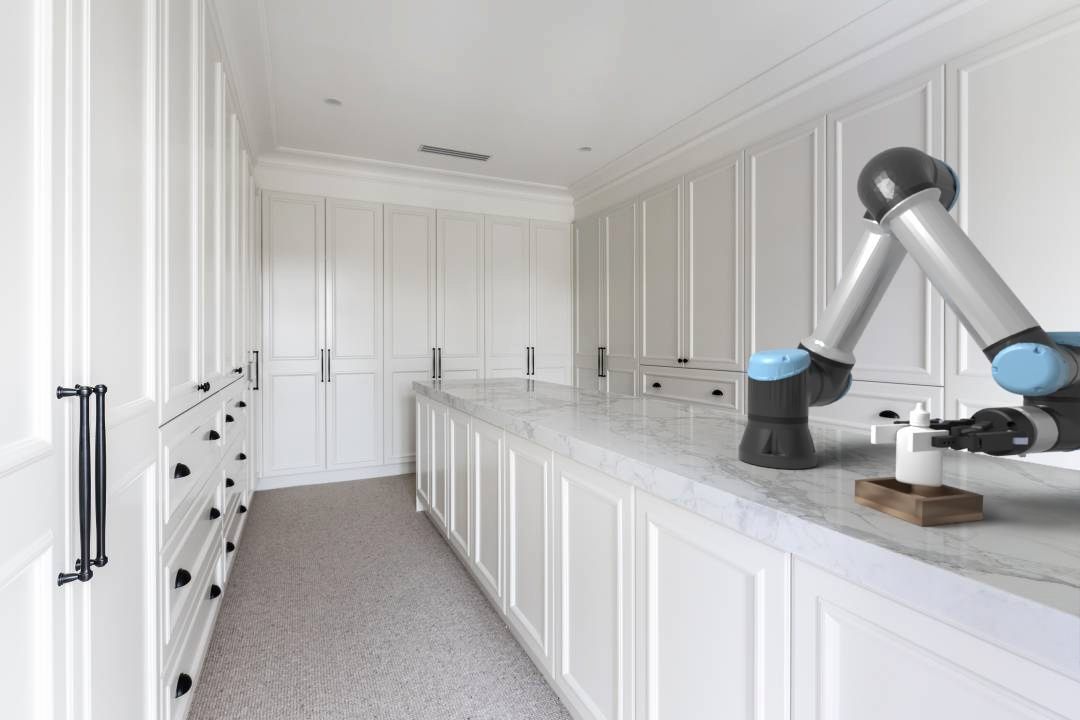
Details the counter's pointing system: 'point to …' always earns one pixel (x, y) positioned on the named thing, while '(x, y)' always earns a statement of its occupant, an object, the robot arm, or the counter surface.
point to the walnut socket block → (919, 501)
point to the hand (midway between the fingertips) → (891, 438)
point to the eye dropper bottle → (918, 454)
